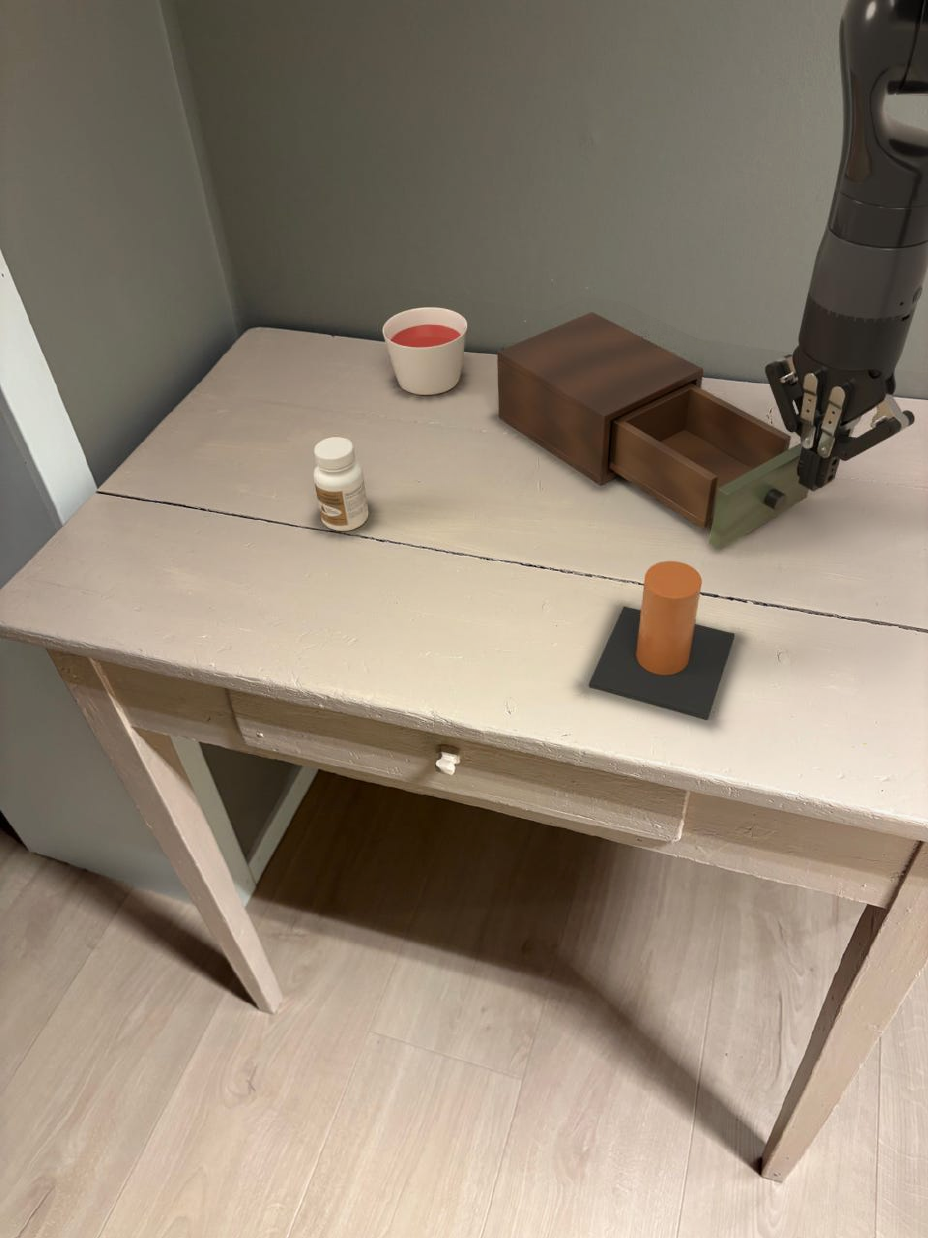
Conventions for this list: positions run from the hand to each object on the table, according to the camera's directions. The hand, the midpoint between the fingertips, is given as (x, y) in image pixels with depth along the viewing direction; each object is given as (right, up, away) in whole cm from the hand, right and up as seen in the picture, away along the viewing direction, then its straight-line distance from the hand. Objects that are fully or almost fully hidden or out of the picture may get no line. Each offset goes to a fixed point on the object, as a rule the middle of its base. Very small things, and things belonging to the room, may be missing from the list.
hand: (813, 484), depth 81 cm
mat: (-14, -15, -7) cm, 22 cm away
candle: (-34, +15, +25) cm, 44 cm away
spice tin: (-14, -14, -8) cm, 22 cm away
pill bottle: (-41, -2, +8) cm, 41 cm away
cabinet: (-16, +8, +16) cm, 25 cm away
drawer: (-7, +1, +7) cm, 10 cm away
